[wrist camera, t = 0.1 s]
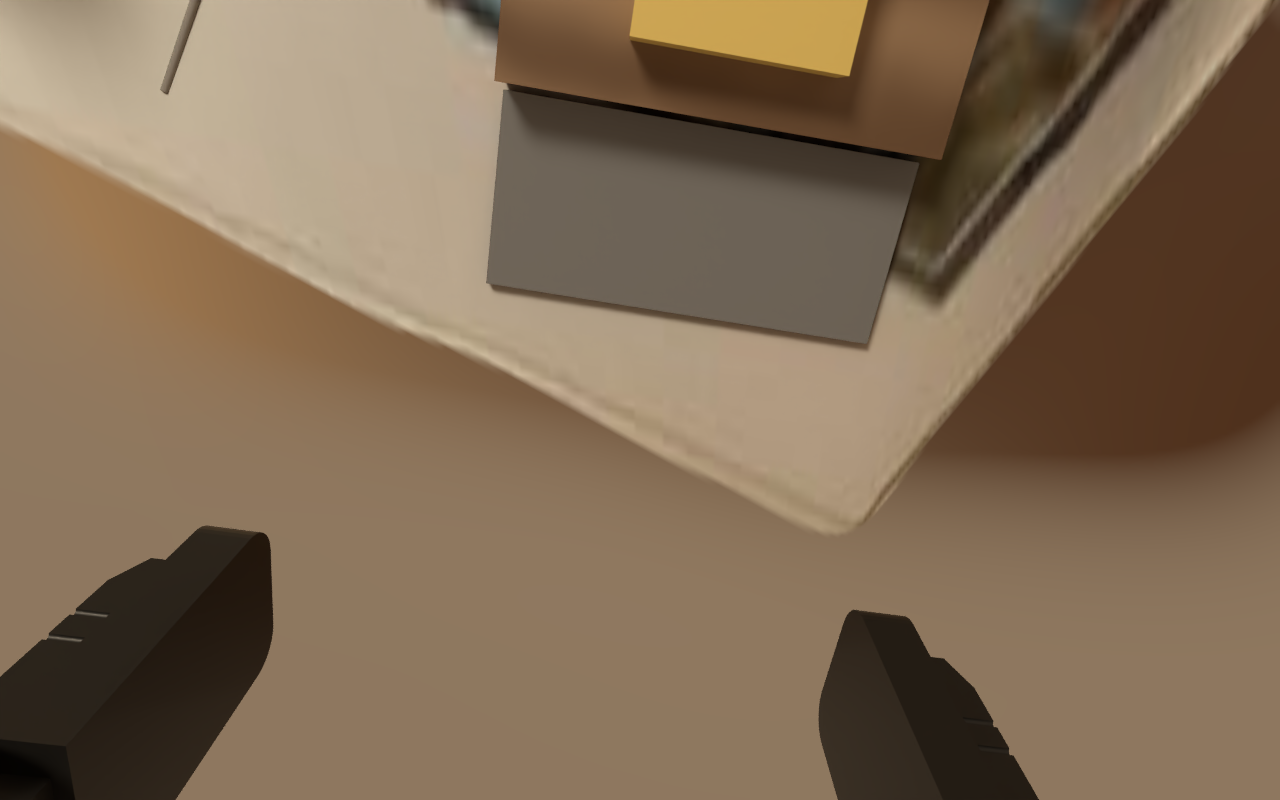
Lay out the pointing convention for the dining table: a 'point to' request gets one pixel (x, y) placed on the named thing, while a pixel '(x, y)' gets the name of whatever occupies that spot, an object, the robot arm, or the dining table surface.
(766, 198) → the mat
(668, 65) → the deck
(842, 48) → the tile
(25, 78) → the dining table surface
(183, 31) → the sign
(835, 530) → the dining table surface
